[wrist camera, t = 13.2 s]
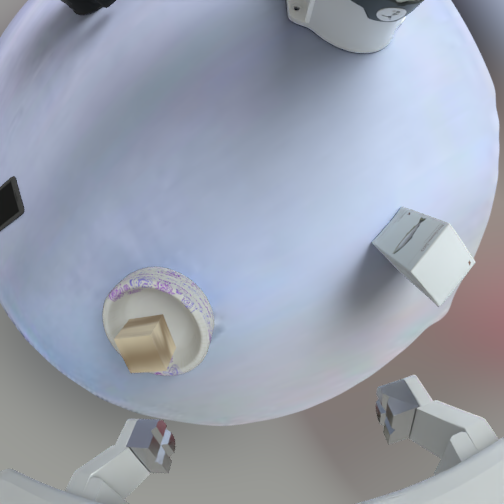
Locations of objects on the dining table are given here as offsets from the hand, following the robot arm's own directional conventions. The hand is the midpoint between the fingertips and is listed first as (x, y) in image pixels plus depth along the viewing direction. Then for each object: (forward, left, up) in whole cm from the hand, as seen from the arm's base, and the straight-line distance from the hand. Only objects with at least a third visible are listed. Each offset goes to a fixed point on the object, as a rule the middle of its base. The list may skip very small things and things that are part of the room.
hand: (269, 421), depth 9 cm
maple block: (+8, -16, -23) cm, 29 cm away
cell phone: (-16, -46, -32) cm, 58 cm away
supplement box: (+5, +20, -31) cm, 38 cm away
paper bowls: (+8, -16, -31) cm, 36 cm away
